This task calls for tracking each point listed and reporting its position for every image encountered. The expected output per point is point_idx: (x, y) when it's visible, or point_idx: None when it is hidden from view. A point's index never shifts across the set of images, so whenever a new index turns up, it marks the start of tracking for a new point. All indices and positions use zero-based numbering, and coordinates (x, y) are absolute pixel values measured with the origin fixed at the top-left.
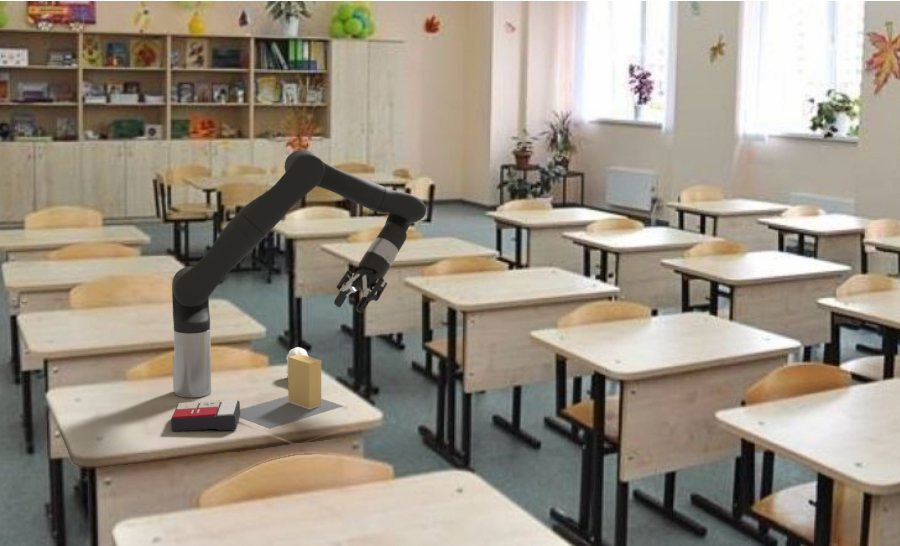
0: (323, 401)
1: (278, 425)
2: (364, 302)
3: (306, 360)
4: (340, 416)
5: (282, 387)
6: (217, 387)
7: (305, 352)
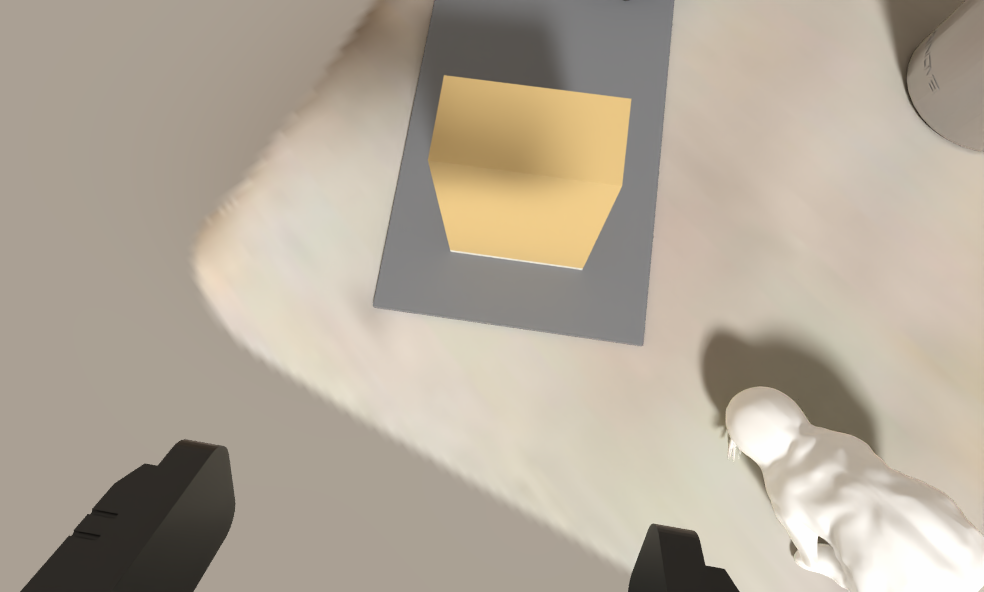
0: (478, 300)
1: (436, 3)
2: (54, 558)
3: (499, 109)
4: (320, 216)
5: (771, 362)
6: (973, 193)
7: (890, 580)
